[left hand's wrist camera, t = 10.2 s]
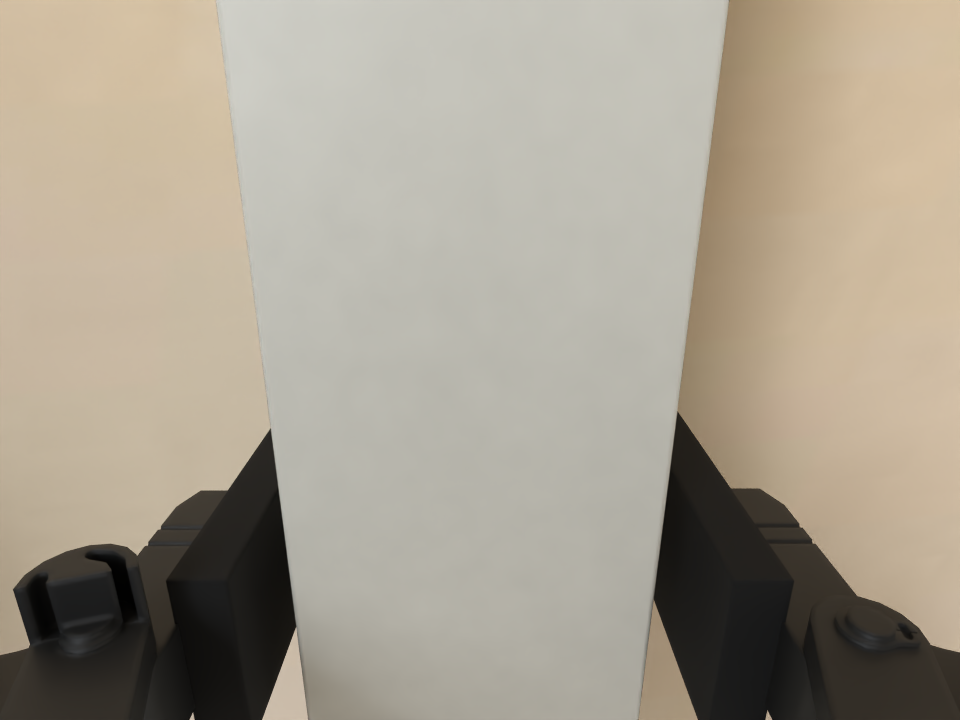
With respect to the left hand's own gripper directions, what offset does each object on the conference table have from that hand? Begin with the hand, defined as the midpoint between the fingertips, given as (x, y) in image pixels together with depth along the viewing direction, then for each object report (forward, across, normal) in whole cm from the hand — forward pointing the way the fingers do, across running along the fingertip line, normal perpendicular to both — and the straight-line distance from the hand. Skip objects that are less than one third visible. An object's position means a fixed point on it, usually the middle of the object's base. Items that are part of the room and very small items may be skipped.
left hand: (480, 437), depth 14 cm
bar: (+2, 0, -35) cm, 35 cm away
